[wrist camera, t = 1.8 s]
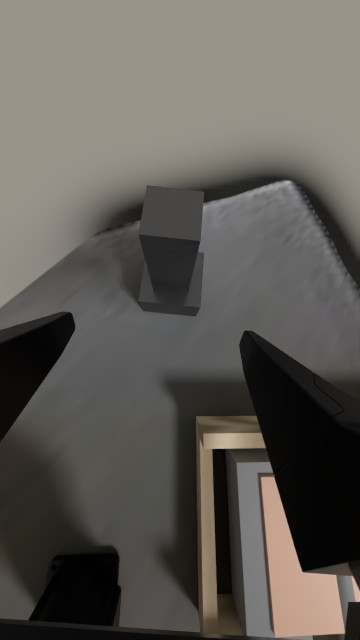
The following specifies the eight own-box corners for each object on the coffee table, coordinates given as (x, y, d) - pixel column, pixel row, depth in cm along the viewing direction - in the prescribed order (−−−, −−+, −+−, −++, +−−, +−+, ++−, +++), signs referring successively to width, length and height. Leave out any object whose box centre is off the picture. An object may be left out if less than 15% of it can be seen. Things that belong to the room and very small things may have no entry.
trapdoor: (232, 606, 16) (252, 686, 12) (224, 434, 19) (238, 452, 15) (458, 595, 17) (544, 665, 13) (413, 432, 20) (472, 449, 16)
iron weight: (195, 316, 24) (222, 264, 11) (143, 311, 24) (110, 252, 11) (199, 269, 25) (225, 177, 13) (150, 264, 25) (128, 166, 13)
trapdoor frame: (198, 611, 17) (209, 719, 12) (195, 416, 21) (203, 433, 16) (448, 599, 18) (558, 692, 13) (400, 414, 22) (469, 430, 17)
